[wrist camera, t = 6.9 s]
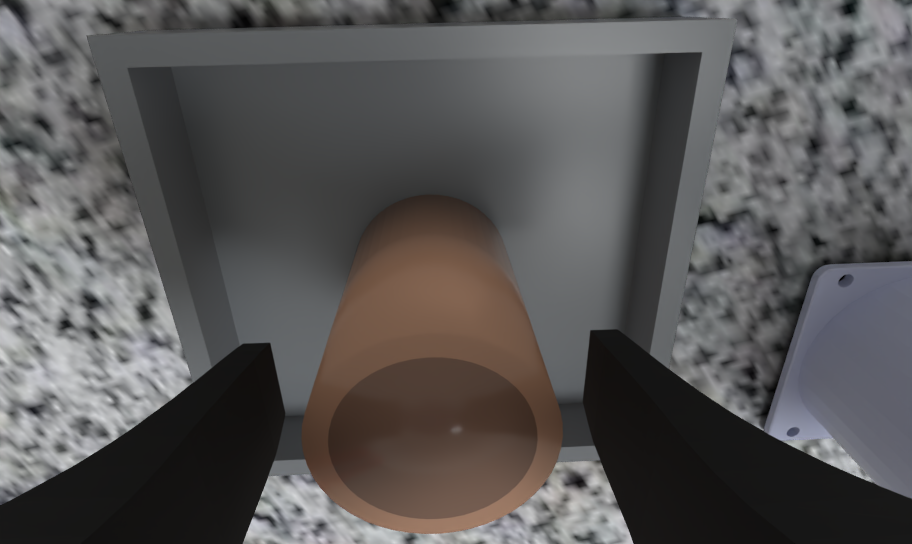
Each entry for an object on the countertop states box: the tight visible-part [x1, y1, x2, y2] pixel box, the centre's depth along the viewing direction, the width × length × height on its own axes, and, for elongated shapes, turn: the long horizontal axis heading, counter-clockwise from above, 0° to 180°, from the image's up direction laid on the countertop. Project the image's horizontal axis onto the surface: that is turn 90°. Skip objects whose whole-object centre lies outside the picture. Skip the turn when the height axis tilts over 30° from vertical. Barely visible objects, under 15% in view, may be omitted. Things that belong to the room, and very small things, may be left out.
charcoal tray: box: [87, 17, 737, 476], centre depth 17 cm, size 15×14×3 cm
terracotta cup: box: [301, 195, 563, 534], centre depth 14 cm, size 5×5×8 cm
